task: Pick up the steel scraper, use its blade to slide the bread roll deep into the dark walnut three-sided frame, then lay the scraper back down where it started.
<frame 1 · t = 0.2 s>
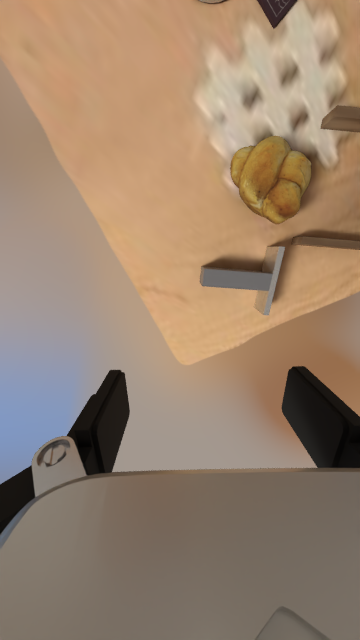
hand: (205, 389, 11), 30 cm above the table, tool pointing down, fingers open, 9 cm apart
bread roll: (261, 184, 34), on the table
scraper: (230, 276, 39), on the table
walnut frame: (353, 191, 34), on the table
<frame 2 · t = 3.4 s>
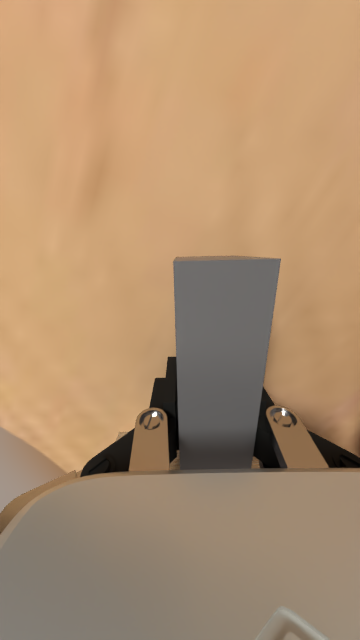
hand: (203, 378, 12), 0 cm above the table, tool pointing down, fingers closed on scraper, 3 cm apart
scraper: (203, 357, 12), on the table, touching gripper
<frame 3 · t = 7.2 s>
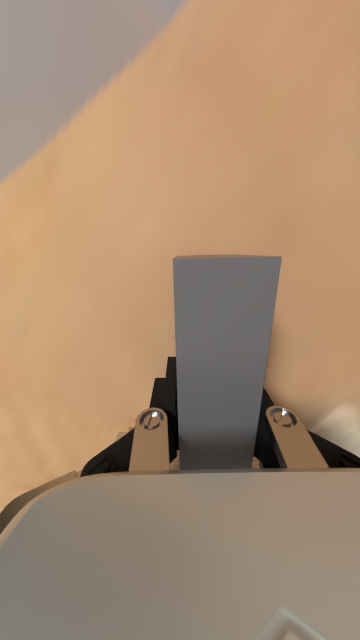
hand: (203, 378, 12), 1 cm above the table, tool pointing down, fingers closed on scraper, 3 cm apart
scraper: (203, 357, 12), point 1 cm above the table, touching gripper
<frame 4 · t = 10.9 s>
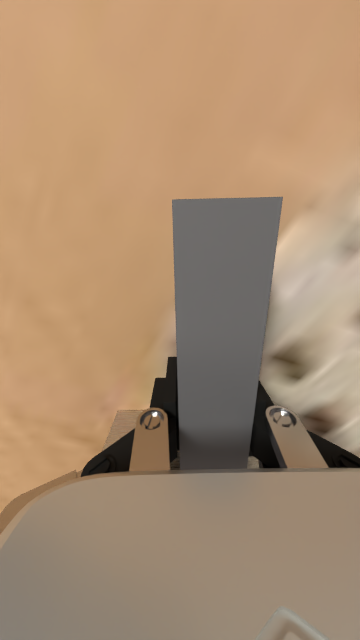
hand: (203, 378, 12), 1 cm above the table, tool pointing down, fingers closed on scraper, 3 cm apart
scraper: (202, 331, 12), on the table, touching bread roll, gripper
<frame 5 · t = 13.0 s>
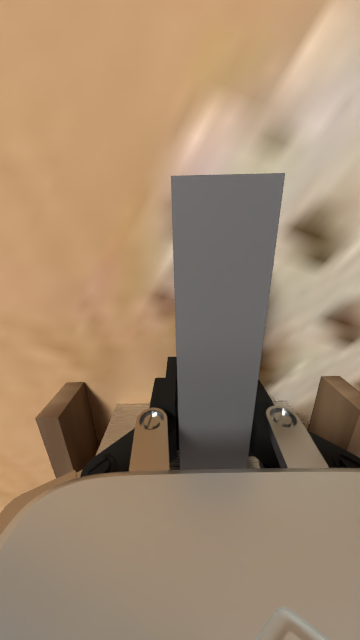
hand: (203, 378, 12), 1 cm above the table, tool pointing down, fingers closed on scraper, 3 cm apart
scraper: (202, 323, 12), on the table, touching bread roll, gripper
walnut frame: (201, 467, 16), on the table
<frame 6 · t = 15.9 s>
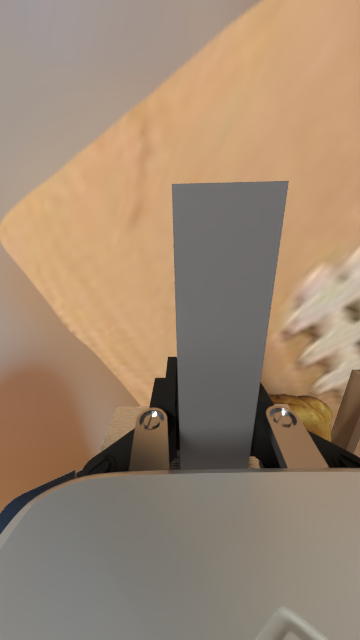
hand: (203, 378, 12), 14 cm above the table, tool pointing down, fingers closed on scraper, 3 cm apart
bread roll: (276, 410, 31), on the table
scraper: (203, 326, 12), point 13 cm above the table, touching gripper
walnut frame: (285, 416, 31), on the table
when the fingers open (2 cm above the table, at t = 18.4 s): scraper drops 1 cm, on the table.
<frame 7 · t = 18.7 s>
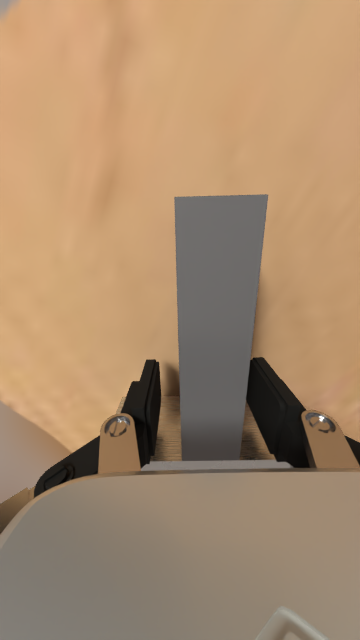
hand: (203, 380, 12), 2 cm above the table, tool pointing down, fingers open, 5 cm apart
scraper: (202, 320, 13), on the table
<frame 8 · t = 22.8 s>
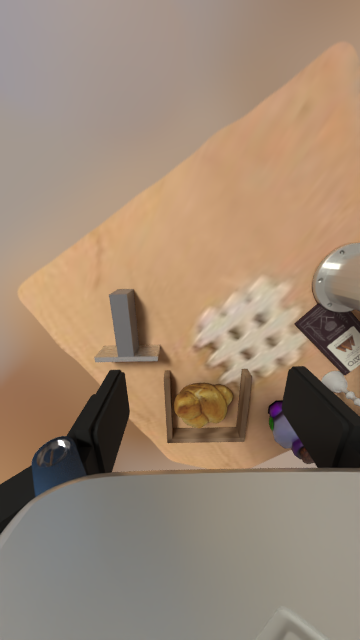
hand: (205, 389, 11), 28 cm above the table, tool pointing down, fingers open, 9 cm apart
bread roll: (202, 394, 46), on the table
chalice: (332, 380, 45), on the table
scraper: (129, 318, 40), on the table
potion bottle: (278, 408, 47), on the table
walnut frame: (205, 400, 46), on the table
chocolate bar: (335, 334, 42), on the table
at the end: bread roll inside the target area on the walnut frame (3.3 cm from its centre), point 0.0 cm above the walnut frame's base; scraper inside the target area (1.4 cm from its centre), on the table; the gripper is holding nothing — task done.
